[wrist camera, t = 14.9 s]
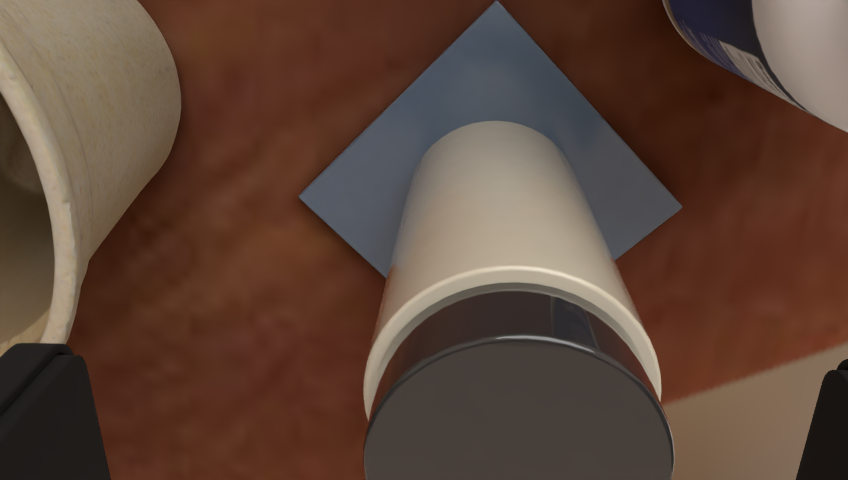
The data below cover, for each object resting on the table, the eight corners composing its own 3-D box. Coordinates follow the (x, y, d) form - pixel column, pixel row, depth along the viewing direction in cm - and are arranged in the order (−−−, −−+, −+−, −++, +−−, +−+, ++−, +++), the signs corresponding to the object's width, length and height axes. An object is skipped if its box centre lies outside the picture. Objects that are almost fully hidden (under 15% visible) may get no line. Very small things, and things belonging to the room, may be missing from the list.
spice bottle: (371, 201, 19) (277, 460, 9) (498, 82, 17) (533, 249, 8) (487, 311, 20) (504, 641, 10) (614, 207, 18) (764, 482, 9)
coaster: (301, 191, 19) (297, 197, 19) (495, -2, 17) (497, -1, 16) (480, 357, 21) (480, 366, 20) (678, 201, 19) (683, 207, 18)
